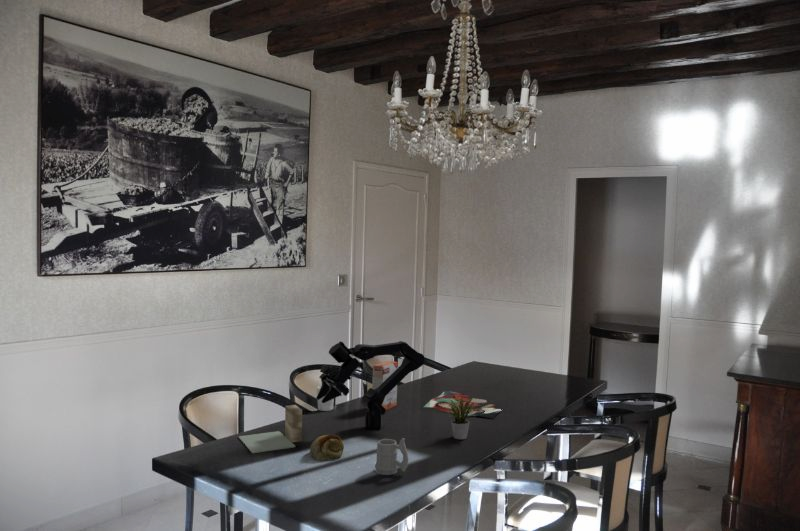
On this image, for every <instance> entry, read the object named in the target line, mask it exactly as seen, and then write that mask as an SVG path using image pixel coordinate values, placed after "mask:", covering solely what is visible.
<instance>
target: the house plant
mask: <svg viewBox="0 0 800 531" xmlns="http://www.w3.org/2000/svg"><path fill="white" fill-rule="evenodd" d="M455 397H456V396H455ZM456 398H457V397H456ZM448 399H449V400H450V401H451V402H452V406H451V405H450V404H449V405H450V406H451V408H452V410H450V411H453V413H452V412H449V411H447V412H449V413H450V414H448V415H447V417H451V418H453V416H454V418H453V419H451V428H452V435H453V438H454V439H455V440H465V439H467V437H468V432H469V427H470V421H469V420H467V419H469V418H471V419H474V417H476V416H475V415H474V414H470V415H474V416H469V415H468V414H469V412H470V411H471V410H473V409H471V410H469V409H470V407H471V406H472V405H473V404H475V403H472V404H471V405H470V406H468V405H469V403H470V402H471V400H472V399H475V397H472V398H469V399H468V400H469V401H468V402H467V401H465V402H466V404H465V407H464V410H463V402H464V401H463V400H462V399H461V397H459V399H460V401H459V400H458V401H459V405H460V407H459V408H460V411H461V414H460V412H459V409H458V406H456V405H455V403H454V402H453V401H452V400H451V399H452V398H448ZM457 399H458V398H457ZM445 403H446V402H445ZM476 404H477V402H476ZM453 406H454V407H453ZM467 406H468V407H469V408H468V407H467ZM467 409H468V410H467ZM466 410H467V411H466ZM467 415H468V416H467Z"/></svg>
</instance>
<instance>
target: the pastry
mask: <svg viewBox="0 0 800 531" xmlns="http://www.w3.org/2000/svg"><path fill="white" fill-rule="evenodd" d="M344 449H345V445H344V442H343V440H342V439H341V437H340V436H339V435H337V434H330V433H329V434H325V435H321V436H318V437H317V438H315V439H314V441H313V442H312V443H311V445H310V447H309V453H310V456H311V457H312V458H314V459H315V460H316V461H318V462H326V461H327V462H328V461H331V460H336V459H340V458H342V455H343V453H344Z"/></svg>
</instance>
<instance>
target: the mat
mask: <svg viewBox="0 0 800 531" xmlns="http://www.w3.org/2000/svg"><path fill="white" fill-rule="evenodd" d="M238 439H239V440H240V441H241V442H242V443H243V445H244V444H245V445H244V446H246V448H247V449H248V450H249V451H250V453H251V454H258V453H265V452H271V451H272V452H273V451H277V450H285V449H286V450H287V449H291V448H296V445H295V444H294V442H291V441H289V440H288V439H287V438H286V437H285V434H283V433H282V432H281V431H279V430H277V431H269V432H261V433H254V434H248V435H239V436H238Z"/></svg>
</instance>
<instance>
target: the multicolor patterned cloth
mask: <svg viewBox="0 0 800 531" xmlns="http://www.w3.org/2000/svg"><path fill="white" fill-rule="evenodd" d="M455 396H456V397H457V398H458V399H457V398H456V397H455ZM469 396H470V395H466V394H463V393H460V392H456V391H448V390H444V391H443V392H442V393H441V394H440V395H438V396H436V397H434V398H431V399H430V400H429V401H428V402H427V403H426V404H425V405H424V406H423V408H435V409H438V410H439V412H444V413H446V414H448V415H451V413H449V412H452V413H453V411H450V410H452V408H451V406H452V402H451V401H450V400H449V399H451V400H452V401H453V402H454V403H455V405H456V406H458V409H459V412H460V414H461V411H460V405H459V401H460V399H459V397H461V399H462V400H463V410H464V407H465V404H466V402H468V401H469V400H470V399H469ZM448 398H449V399H448ZM471 399H472V398H471ZM458 400H459V401H458ZM445 402H446V403H445ZM476 402H477V403H476ZM472 403H475V404H473V405H472V406H471V407H470V409H469V410H471V409H473V410H471V411H470V412H469V414H468V415H469V416H471V417H482V418H488V419H492V420H493V419H494V418H495V417H496V416H497V415H498V414H499V413H500V412H501V411H502V410H501V408H495V407H496V406H497V405H496V404H491V403H490V404H487V405H485V406H480V405H479V404H481V403H482V404H486V403H488V401H487V399H481V398H474V399H472V400H471V402H470V403H469V405H468V406H470V405H471V404H472ZM449 404H450V405H451V406H450V405H449ZM468 406H467V407H468ZM493 406H494V407H493ZM453 407H454V406H453ZM468 408H469V407H468ZM467 410H468V409H467ZM467 410H466V411H467ZM447 411H449V412H447ZM483 411H485V412H484V413H481V412H483ZM470 414H474V415H475V416H474V415H470ZM468 415H467V417H469V416H468Z"/></svg>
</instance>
